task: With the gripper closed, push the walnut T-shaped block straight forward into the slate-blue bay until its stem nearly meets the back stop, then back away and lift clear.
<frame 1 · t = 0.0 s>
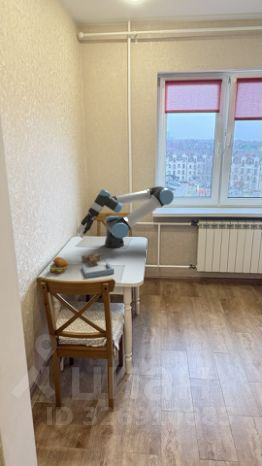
hand: (79, 235, 229), 15 cm above the table, fingers open, 13 cm apart
cheeseburger: (59, 271, 206), on the table
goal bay: (97, 270, 204), on the table
t block: (92, 262, 218), on the table
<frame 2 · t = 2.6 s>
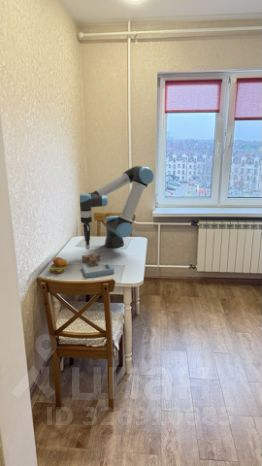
hand: (87, 249, 228), 6 cm above the table, fingers closed
nothing on the table moved.
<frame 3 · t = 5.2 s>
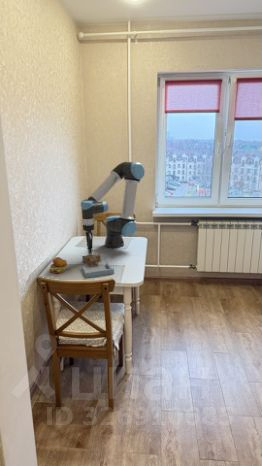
hand: (90, 257, 223), 2 cm above the table, fingers closed
t block: (92, 263, 217), on the table, touching gripper
everything else where it was.
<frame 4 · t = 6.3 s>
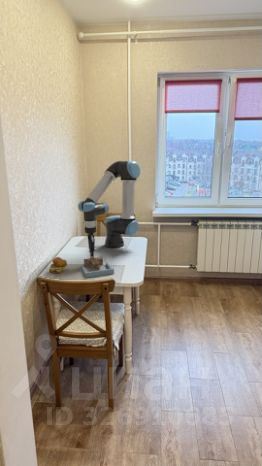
hand: (92, 260, 217), 2 cm above the table, fingers closed
t block: (94, 266, 211), on the table, touching gripper
everything else where it was.
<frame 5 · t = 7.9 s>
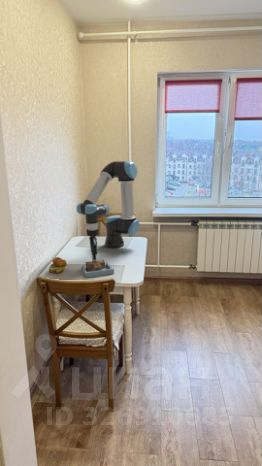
hand: (94, 263, 211), 2 cm above the table, fingers closed
t block: (96, 270, 206), on the table, touching gripper
everything else where it was.
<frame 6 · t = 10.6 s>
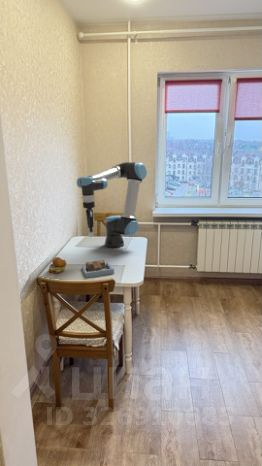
hand: (91, 236, 213), 19 cm above the table, fingers closed
t block: (96, 270, 205), on the table
everything else where it was.
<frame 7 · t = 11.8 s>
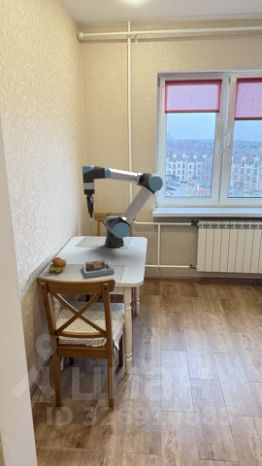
hand: (91, 221, 228), 24 cm above the table, fingers closed
nothing on the table moved.
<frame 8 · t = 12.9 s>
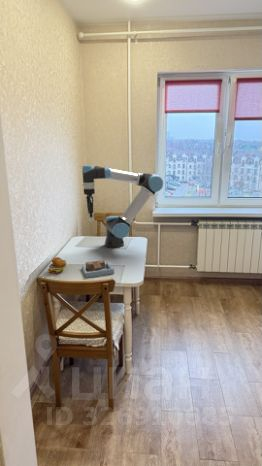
hand: (91, 221, 228), 24 cm above the table, fingers closed
nothing on the table moved.
at the end: t block 1.3 cm off-centre on the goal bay, point 0.0 cm above the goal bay's base; t block tilted 0° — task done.
